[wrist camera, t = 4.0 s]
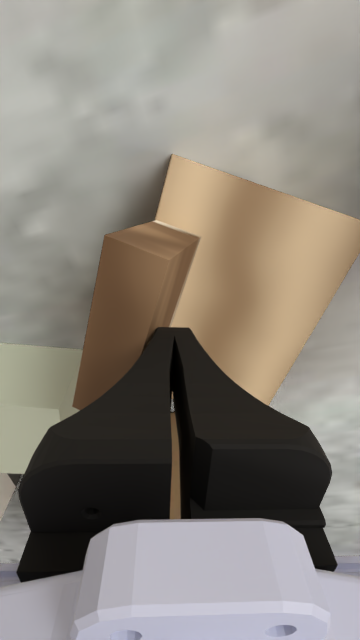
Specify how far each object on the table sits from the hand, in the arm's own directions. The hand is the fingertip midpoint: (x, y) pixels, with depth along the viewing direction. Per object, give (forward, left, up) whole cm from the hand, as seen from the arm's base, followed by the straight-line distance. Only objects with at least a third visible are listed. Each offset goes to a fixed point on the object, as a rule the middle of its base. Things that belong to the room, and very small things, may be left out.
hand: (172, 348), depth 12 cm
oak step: (-3, 0, -9) cm, 9 cm away
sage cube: (+7, +11, -9) cm, 16 cm away
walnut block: (+1, 0, -4) cm, 4 cm away
